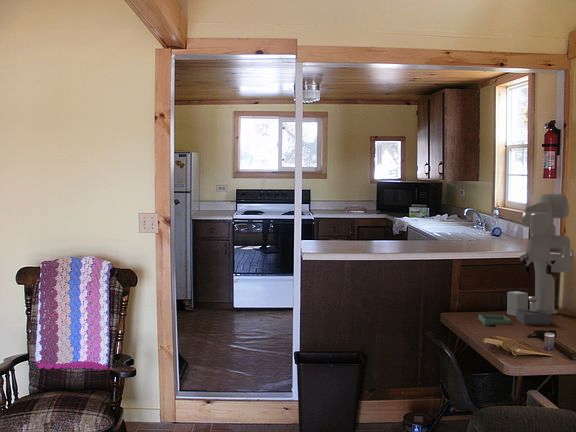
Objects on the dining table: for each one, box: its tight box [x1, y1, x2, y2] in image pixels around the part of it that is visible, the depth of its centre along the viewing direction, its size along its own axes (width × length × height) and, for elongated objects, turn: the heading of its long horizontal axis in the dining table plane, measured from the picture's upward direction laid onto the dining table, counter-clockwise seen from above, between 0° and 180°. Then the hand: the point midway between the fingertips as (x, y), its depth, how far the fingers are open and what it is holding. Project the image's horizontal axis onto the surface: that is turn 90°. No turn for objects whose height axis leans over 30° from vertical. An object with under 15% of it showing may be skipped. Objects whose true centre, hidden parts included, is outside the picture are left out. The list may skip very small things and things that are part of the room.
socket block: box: [515, 309, 552, 326], centre depth 269 cm, size 12×12×6 cm
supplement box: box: [506, 290, 529, 317], centre depth 287 cm, size 7×7×13 cm
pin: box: [528, 295, 538, 313], centre depth 269 cm, size 4×4×12 cm
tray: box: [478, 314, 512, 326], centre depth 271 cm, size 12×12×3 cm
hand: (537, 273), depth 267 cm, fingers open, 9 cm apart
